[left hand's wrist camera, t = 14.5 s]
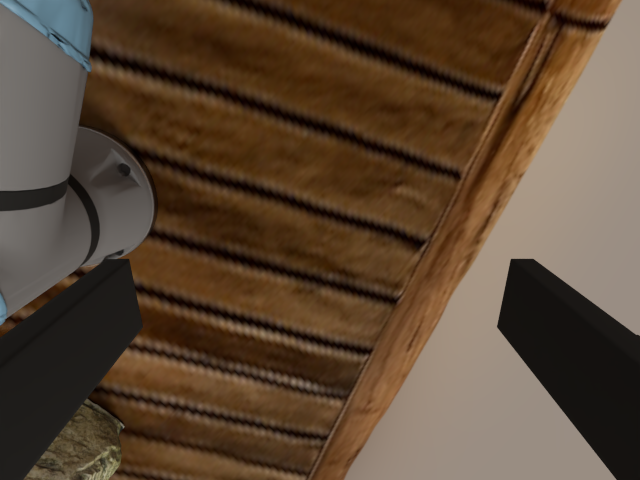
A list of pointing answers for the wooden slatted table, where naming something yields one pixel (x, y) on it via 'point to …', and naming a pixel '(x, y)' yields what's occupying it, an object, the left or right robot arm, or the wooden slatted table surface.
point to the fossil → (82, 448)
